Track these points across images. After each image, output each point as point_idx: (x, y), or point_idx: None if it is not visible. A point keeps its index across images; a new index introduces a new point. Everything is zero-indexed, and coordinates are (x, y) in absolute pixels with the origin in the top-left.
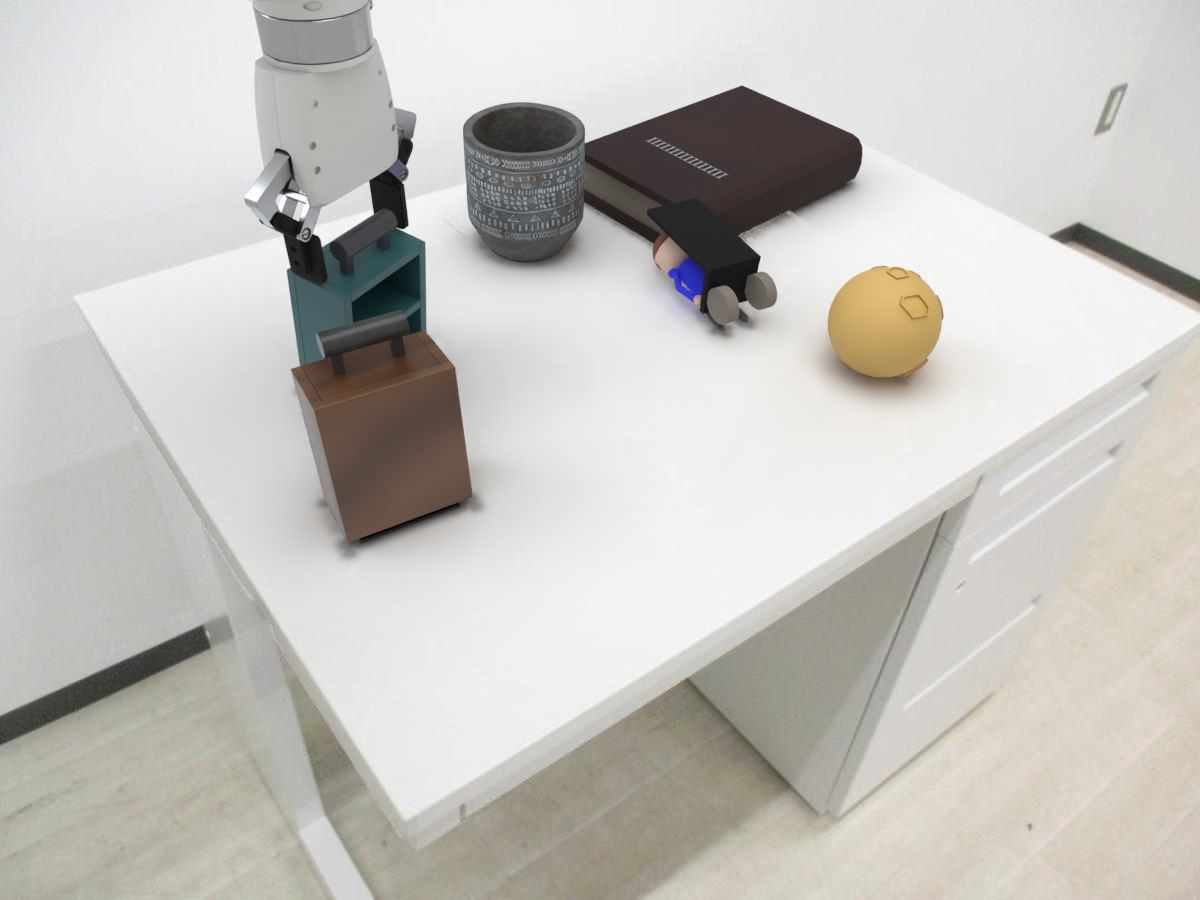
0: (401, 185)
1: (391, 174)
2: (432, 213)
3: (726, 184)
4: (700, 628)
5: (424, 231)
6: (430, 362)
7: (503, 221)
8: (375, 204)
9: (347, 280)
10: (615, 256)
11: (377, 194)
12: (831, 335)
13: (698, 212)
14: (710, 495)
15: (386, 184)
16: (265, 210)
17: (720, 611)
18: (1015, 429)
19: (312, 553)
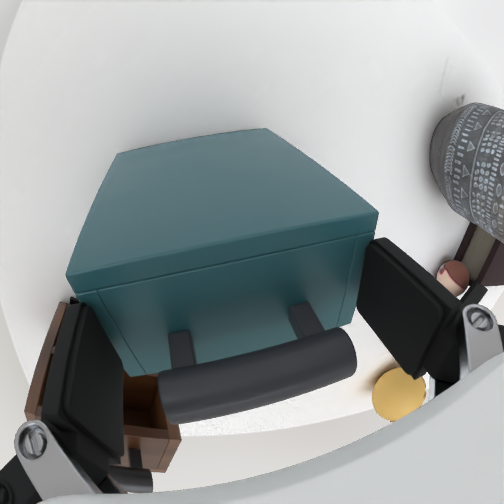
0: (418, 377)
1: (432, 393)
2: (448, 43)
3: (500, 275)
4: (188, 435)
5: (428, 50)
6: (151, 465)
7: (459, 181)
8: (392, 274)
9: (164, 353)
10: (451, 223)
11: (409, 303)
12: (387, 387)
13: (475, 302)
14: None
15: (420, 358)
16: None
17: (201, 434)
18: (361, 411)
19: (38, 327)
